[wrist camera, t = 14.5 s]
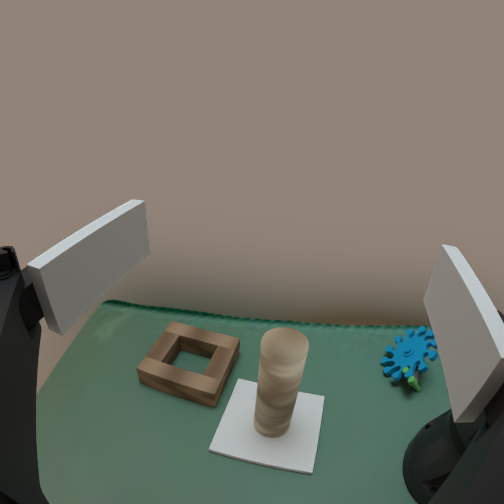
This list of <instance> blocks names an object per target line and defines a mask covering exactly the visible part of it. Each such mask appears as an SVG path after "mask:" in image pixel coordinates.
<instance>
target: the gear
mask: <svg viewBox="0 0 504 504" xmlns="http://www.w3.org/2000/svg"><path fill="white" fill-rule="evenodd" d="M406 333H407V336H406V339H405V340H404V342H403V338H402V336H401V335H399V336H397V337H396V338H395V339H394V340H395V342H396V343H397V344H398V347H397V349H396V350H394V348H393V347H392V346H391V345H389V346H388V347H387V348H386V349H385V351H386V352H387V354H392V355H394V356H393V358H391V359H389V358H388V357H383V359H382V362H381V363H382V364H383V365H384V366H387V365H389V364H394V365H393V366H392V367H390V366H387V367H385V368H384V373H385V374H386V375H387V376H389V375H390V374H391V373H393V372H394V371H396V370H398V369H400V370H399V371H396V372H394V373H393V374H392V375H391V376H392V377H393V378H394V380H396V381H399V380H400V379H401V376H402V375H403V373H404V374H405V375H404V376H405V378H406V379H407V383H408V385H409V386H411V387H414V388H415V389H416V391H417V392H419V391H420V390H421V388H420V387H419V385H418V384H417V383H418V380H419V372H421V373H423V372H425V371H427V370H428V366H427V365H426V363H424V358H425V357H426V356H427V355H428V356H429V358H430V360H431V361H434V360H435V359H436V358H437V356H438V354H437V353H436V351H429V350H428V348H429V347H430V346H433V347H434V348H437V344H436V340H435V339H434V338H435V337H434V333H433V330H430V331H429V332H428V333H427V330H426V328H425V327H423V326H421V327H420V328H419V330H418V332H417V333H416V334H415V331H414V329H408V330H407V332H406ZM426 333H427V334H426ZM425 334H426V335H425ZM422 335H424V336H422ZM420 336H422V337H420ZM411 337H412V338H411ZM427 339H434V340H432V341H426V340H427Z"/></svg>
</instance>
